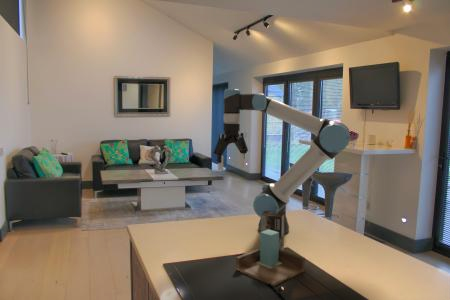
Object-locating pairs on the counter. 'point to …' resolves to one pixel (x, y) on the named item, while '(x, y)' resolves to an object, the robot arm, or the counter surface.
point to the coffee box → (274, 224)
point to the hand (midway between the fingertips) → (231, 168)
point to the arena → (273, 274)
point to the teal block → (269, 247)
